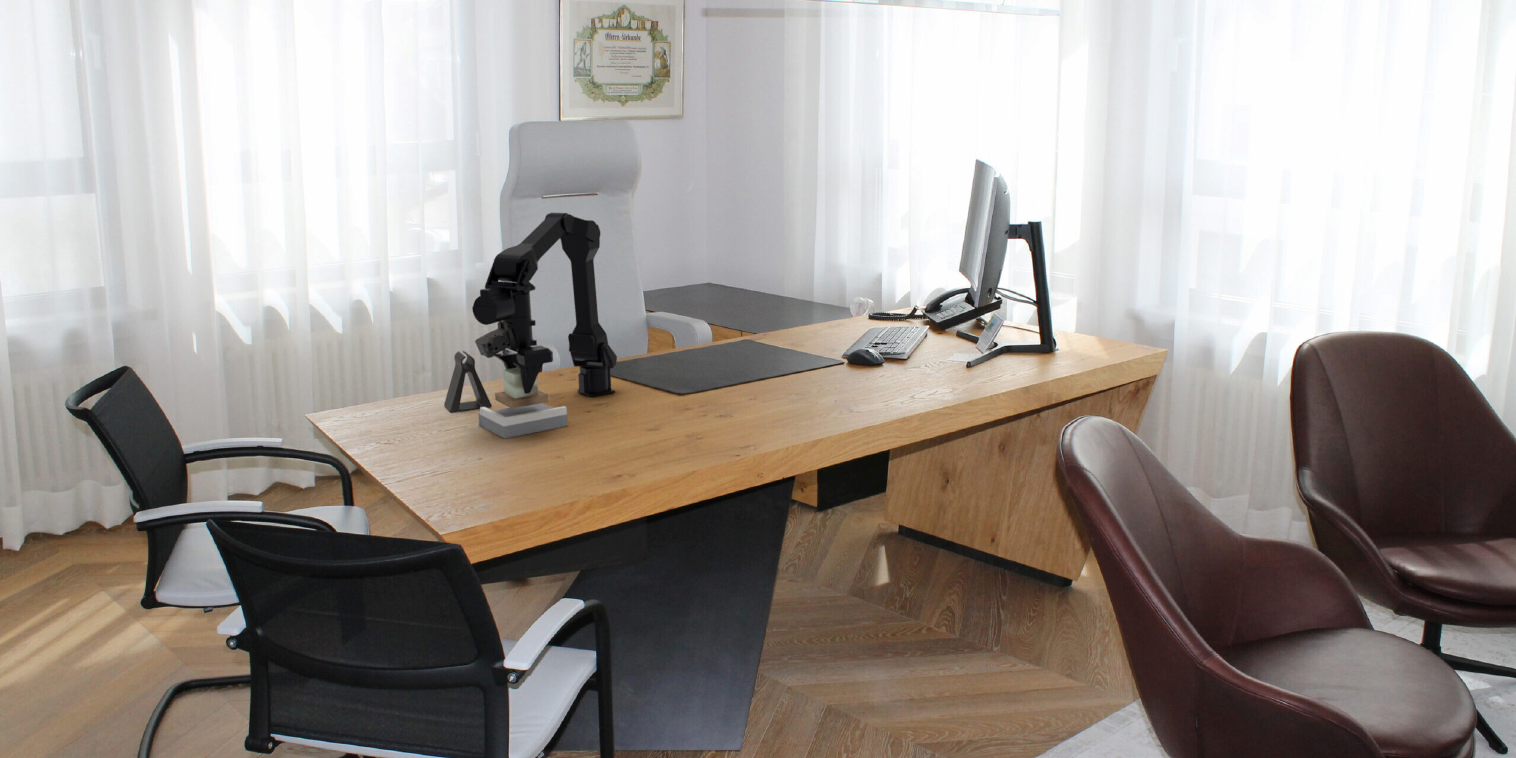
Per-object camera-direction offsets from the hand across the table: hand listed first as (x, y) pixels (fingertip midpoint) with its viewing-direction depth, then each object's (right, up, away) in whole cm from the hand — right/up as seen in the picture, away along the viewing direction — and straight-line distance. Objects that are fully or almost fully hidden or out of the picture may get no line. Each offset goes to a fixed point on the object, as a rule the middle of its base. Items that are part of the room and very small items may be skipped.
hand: (521, 390), depth 223 cm
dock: (0, -7, +2) cm, 7 cm away
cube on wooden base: (0, -2, +1) cm, 2 cm away
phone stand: (-15, -4, +16) cm, 22 cm away
